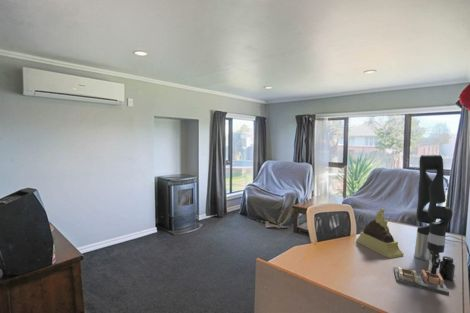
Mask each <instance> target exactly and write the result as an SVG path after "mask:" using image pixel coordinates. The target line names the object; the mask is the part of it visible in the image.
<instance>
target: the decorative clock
mask: <svg viewBox="0 0 470 313" xmlns="http://www.w3.org/2000/svg"><path fill="white" fill-rule="evenodd" d="M385 211H386V209H385V208H380V210H378V211H377V212H376V215H375V219H373V220H371V221H369V222H368V224H366V225H365V226H364V229H363V231H360V233H359V236H358V238H356V239H355V240H356V241H355V242H356V243H358V244H360V245H362V246H364V247H366V248H368V249H371V250H372V251H374V252H376V253H378V254H379V255H380V254H381V255H382V256H384V257H386V258H389V259H394V258H400V257H404V253H403V251H402V250H400V247H399V242H398V241H396V240H394V237H393V235H392V233H391V232H390V227H389V225H388V222H389V221H388V220H386V219H385Z"/></svg>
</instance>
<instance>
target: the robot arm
mask: <svg viewBox="0 0 470 313" xmlns="http://www.w3.org/2000/svg"><path fill="white" fill-rule="evenodd" d="M418 163H419V178H418V179H419V180H418V189H417V190H418V192H417V207H416V213H415V215H416V216H415V218H416V220H417V222H419V223H424V224H427V225H425V226H424V225H423V226H418V227H417V229H416V238H415V246H414V254H413V256H414V257H415V258H416V259H418V260H421V261H425V262H429V259H431V262H432V268H431V273H432V274H436V271H437V272H438V270H437V268H438V269H439V267H440V262H441V261H442V260H441V259H440V258H441V255H440V254H443V253H444V252H445V248H446V247H445V246H446V232H447V227H448V226H449V223H450V222H451V220H452V218H453V210H452V209H451V207H449V206H441V205H437V204H444V203H445V202H446V199H447V198H446V193H445V192H446V191H445V188H444V187H445V186H444V178H445V177H444V176H445V175H444V160H443V156H442V155H441V154H438V153H436V154H434V153H433V154H431V153H430V154H421V155H420V157H419V162H418ZM433 170H434V171H436V174H435V175H434V176H435V177H433V179H432V178H431V177H430V176H429V175H428V173H427V171H433ZM427 205H428V207H427V208H428V209H427V208H425V207H426V206H427ZM437 219H438V220H439V221H437ZM433 260H434V261H433ZM435 264H436V265H435Z"/></svg>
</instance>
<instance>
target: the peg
mask: <svg viewBox="0 0 470 313" xmlns="http://www.w3.org/2000/svg"><path fill="white" fill-rule="evenodd" d="M433 261H434V260H433ZM435 265H436V264H435ZM431 268H432V262H431V259H429V261H428V269H427V271H428V275H427V276H428V278H429V276H431V277H435V278H437V273H438V271H439V268H437V271H436V274H432V273H431Z"/></svg>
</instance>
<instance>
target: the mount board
mask: <svg viewBox="0 0 470 313" xmlns="http://www.w3.org/2000/svg"><path fill="white" fill-rule="evenodd" d="M393 272H394V275H395V281H396V282H397V283H400V284H404V285H408V286H412V287H415V288H420V289H423V290H428V291H431V292H436V293H439V294H444V295H448V296H449V295H450V291H449V290H448V288H447V286H446V284H445V281H444V282H443V286H441V285H439V283H438V285H437V284H433V283H429V282H428V279H427V282H425V281H424V280H423V278H422V276H421V272H418V271H416V270H414V269H410V268H404V267H400V266H398V267H397V266H394V267H393Z"/></svg>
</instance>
